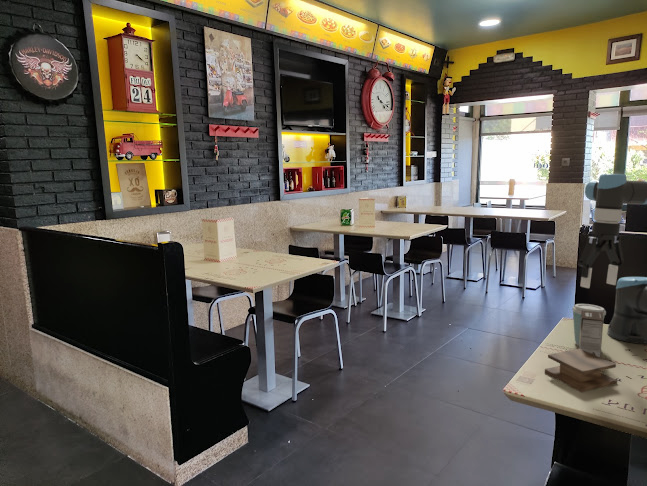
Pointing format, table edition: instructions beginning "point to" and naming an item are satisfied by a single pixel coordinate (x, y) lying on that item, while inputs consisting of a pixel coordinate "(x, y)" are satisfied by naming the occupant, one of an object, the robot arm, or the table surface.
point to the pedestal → (581, 370)
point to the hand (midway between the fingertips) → (598, 285)
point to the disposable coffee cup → (577, 316)
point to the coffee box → (591, 332)
